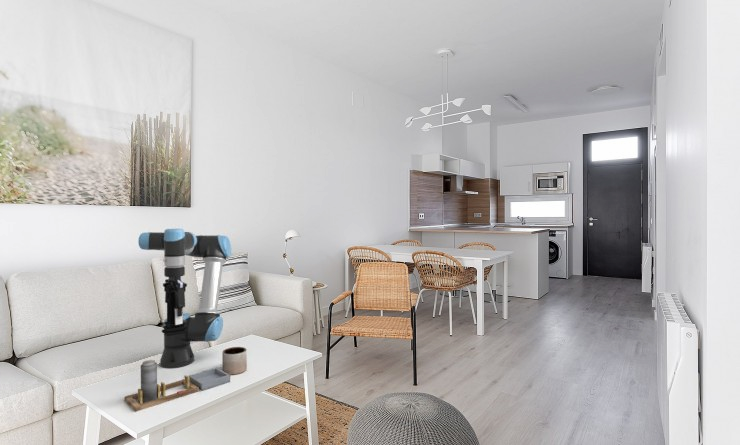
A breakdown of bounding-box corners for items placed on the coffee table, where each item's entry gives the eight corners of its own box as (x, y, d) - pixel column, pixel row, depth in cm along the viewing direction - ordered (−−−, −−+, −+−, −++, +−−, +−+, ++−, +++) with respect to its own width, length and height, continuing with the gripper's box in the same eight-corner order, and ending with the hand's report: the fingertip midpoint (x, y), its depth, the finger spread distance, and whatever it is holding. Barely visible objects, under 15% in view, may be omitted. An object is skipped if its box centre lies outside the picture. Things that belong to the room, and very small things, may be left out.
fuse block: (124, 400, 158) (123, 362, 158) (185, 382, 176) (185, 348, 175) (135, 411, 149) (135, 371, 149) (199, 391, 166) (198, 355, 166)
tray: (188, 382, 175) (188, 375, 175) (216, 374, 185) (216, 367, 185) (201, 391, 167) (201, 383, 167) (230, 381, 176) (230, 375, 176)
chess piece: (182, 328, 171) (182, 281, 171) (188, 332, 165) (188, 283, 165) (161, 331, 166) (161, 283, 166) (166, 336, 160) (166, 285, 160)
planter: (221, 376, 182) (221, 355, 182) (223, 367, 192) (223, 347, 192) (246, 374, 185) (246, 353, 185) (246, 365, 195) (246, 345, 195)
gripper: (155, 265, 169) (156, 319, 170) (174, 269, 156) (175, 329, 156) (174, 263, 175) (174, 316, 175) (194, 267, 161) (194, 325, 162)
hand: (175, 322), depth 166 cm, fingers closed on chess piece, 7 cm apart
